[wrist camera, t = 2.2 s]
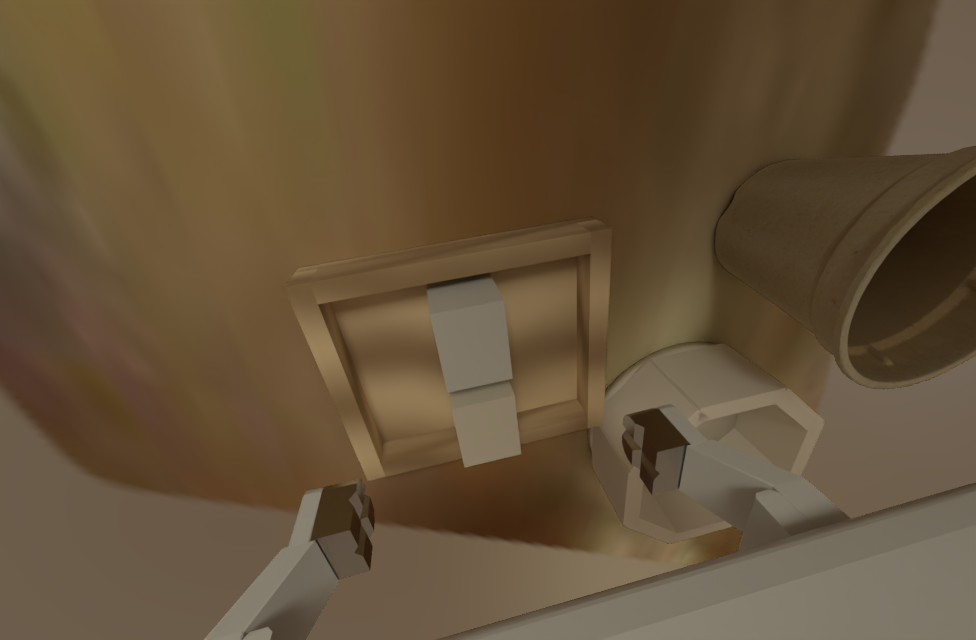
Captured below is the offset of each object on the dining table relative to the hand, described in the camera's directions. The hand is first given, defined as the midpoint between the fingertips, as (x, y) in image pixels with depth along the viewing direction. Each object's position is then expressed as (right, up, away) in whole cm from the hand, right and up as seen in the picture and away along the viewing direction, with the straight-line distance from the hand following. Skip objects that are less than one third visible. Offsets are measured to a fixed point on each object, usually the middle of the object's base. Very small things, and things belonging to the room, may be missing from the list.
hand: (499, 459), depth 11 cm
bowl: (+12, -2, +15) cm, 19 cm away
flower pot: (+15, +10, +9) cm, 20 cm away
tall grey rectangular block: (-2, +5, +7) cm, 9 cm away
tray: (-1, +3, +9) cm, 10 cm away
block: (-1, 0, +10) cm, 10 cm away
